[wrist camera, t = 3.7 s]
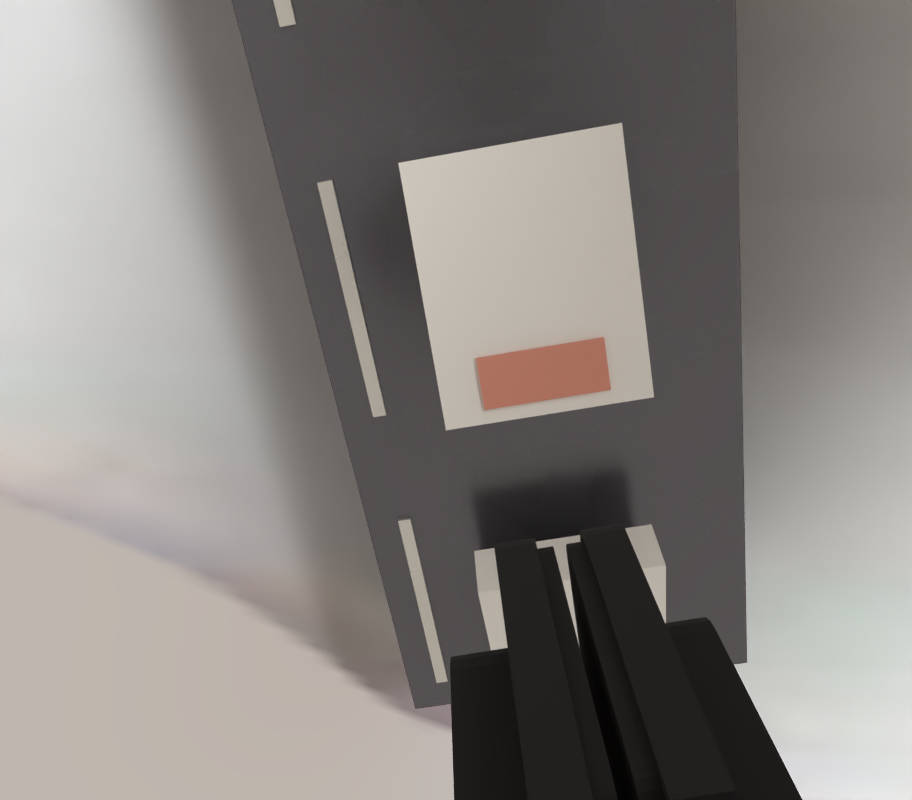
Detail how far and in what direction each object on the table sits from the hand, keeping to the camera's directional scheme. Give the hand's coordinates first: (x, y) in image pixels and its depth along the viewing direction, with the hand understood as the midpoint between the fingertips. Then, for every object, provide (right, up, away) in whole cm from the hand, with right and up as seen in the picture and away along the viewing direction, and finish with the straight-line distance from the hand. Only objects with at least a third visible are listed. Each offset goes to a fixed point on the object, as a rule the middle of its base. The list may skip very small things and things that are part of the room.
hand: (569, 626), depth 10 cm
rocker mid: (0, +6, +6) cm, 8 cm away
